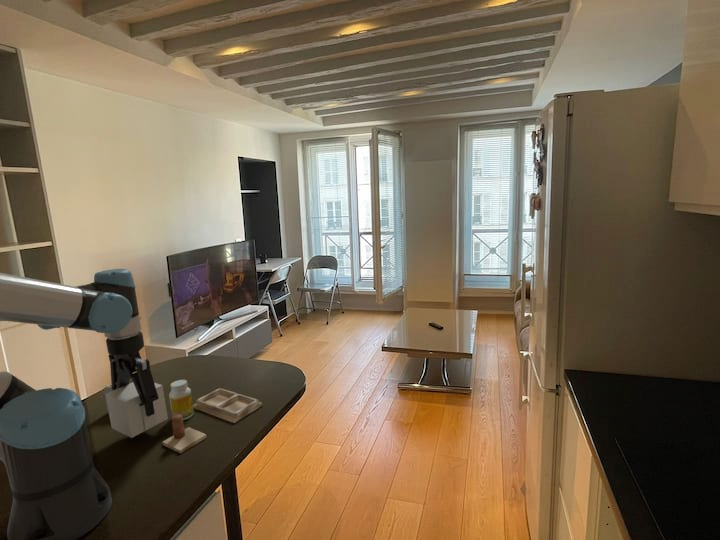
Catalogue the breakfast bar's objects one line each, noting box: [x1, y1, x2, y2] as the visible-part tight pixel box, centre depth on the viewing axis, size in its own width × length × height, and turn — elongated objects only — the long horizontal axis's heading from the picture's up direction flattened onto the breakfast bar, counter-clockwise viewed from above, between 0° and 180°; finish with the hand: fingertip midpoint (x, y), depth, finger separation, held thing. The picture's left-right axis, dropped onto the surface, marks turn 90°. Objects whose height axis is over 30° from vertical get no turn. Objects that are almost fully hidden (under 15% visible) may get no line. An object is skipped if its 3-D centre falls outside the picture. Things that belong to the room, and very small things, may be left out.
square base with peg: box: [161, 414, 208, 454], centre depth 95 cm, size 7×7×6 cm
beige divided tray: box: [193, 387, 264, 424], centre depth 110 cm, size 10×17×2 cm, turn 58°
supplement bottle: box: [168, 379, 195, 421], centre depth 106 cm, size 5×5×10 cm
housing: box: [104, 381, 169, 439], centre depth 97 cm, size 9×9×9 cm
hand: (139, 421), depth 98 cm, fingers closed on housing, 9 cm apart
